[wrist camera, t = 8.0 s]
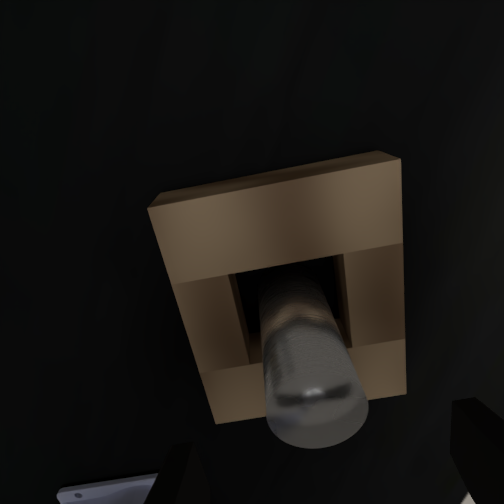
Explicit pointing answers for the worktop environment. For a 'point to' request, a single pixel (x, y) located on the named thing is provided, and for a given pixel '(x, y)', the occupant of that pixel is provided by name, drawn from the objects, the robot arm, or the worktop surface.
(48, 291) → the worktop surface
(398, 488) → the worktop surface
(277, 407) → the metal peg
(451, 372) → the worktop surface
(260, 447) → the worktop surface
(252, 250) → the socket plate
